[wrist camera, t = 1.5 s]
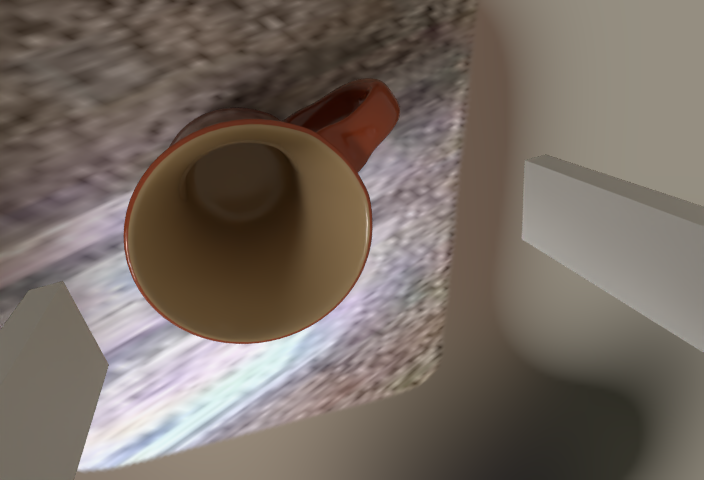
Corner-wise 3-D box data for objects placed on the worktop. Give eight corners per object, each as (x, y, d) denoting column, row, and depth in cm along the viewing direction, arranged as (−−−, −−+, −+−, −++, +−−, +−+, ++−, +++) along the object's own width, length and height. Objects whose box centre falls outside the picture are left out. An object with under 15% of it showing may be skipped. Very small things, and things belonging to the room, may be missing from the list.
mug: (238, 267, 27) (258, 380, 18) (114, 169, 22) (59, 253, 13) (380, 135, 26) (474, 183, 17) (282, 7, 22) (339, -17, 13)
